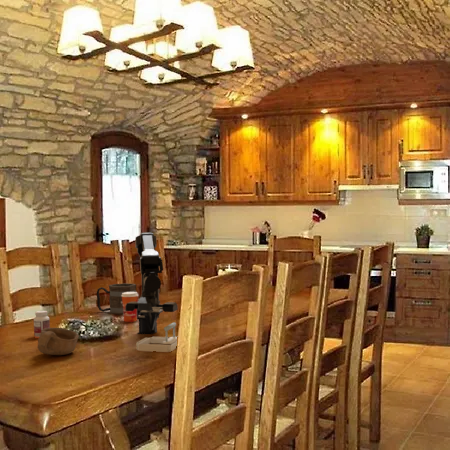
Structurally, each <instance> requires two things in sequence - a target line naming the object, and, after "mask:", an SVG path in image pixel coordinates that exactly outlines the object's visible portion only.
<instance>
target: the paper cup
mask: <svg viewBox="0 0 450 450" xmlns="http://www.w3.org/2000/svg"><path fill="white" fill-rule="evenodd" d="M121 296H122V303H123V314H122V315H123V322H126V323H127V322H128V323H130V322H131V323H133V322H137V309H135V310H134V311H125V306H126V304H127V303H129V302H138V300H139V293H138V292H137V291H136V292H124V293H122V295H121Z"/></svg>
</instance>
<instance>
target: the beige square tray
mask: <svg viewBox="0 0 450 450" xmlns="http://www.w3.org/2000/svg"><path fill="white" fill-rule="evenodd" d="M170 337H171V336H168V339H169V338H170ZM165 340H166V337H165V336H152V337H144V338H141V340H138V341H137V342H136V343H135V344H136V345H135V348H136V351H139V352H153V351H156V353H157V352H158V353H169V352H171V351H172V352H173V351H174V350H176V349H177V348H176V346H177V340H176V341H175V342H173V343H171V344H163V342H164V341H165Z"/></svg>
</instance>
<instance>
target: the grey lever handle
mask: <svg viewBox="0 0 450 450" xmlns="http://www.w3.org/2000/svg"><path fill="white" fill-rule="evenodd" d="M176 326H177V323H176V322H172V323H169V324H168V325H166V326H165V327H163V330H164V331H165V333H164V334H165V336H164V337H166V340H165V341H164V342H163V344H162V345H171V343H173V342H175V341H176V340H177V337H178V336H176ZM169 330H172V336H168V331H169ZM168 337H170V338H169V339H168Z"/></svg>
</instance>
